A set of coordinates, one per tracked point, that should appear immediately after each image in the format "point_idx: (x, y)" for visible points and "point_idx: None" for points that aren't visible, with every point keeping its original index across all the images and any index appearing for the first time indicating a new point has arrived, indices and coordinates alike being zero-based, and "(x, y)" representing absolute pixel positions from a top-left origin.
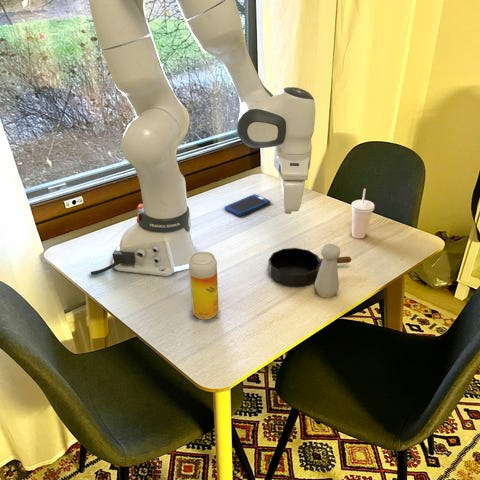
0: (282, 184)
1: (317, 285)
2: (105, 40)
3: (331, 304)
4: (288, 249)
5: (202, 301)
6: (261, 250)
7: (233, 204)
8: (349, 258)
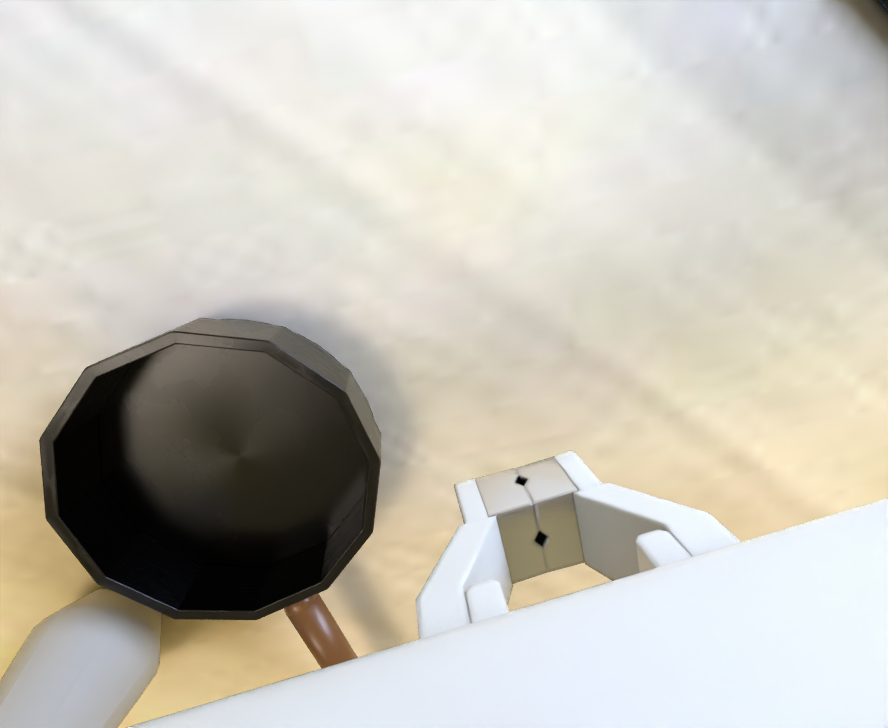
0: (824, 685)
1: (25, 642)
2: None
3: None
4: (349, 423)
5: None
6: (429, 222)
7: None
8: None
